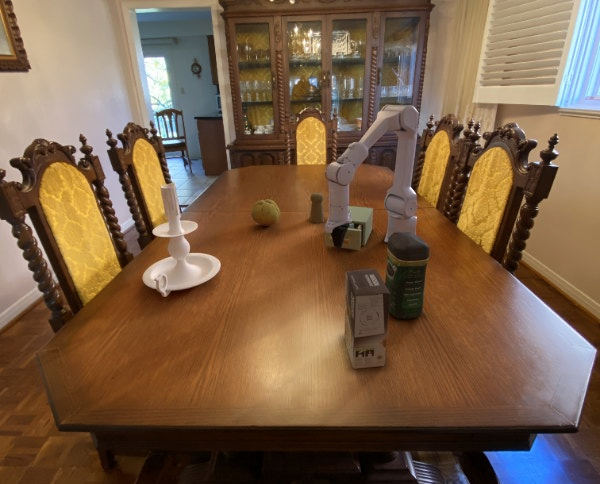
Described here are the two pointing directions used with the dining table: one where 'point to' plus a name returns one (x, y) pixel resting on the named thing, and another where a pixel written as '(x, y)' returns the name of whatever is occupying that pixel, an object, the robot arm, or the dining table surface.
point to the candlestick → (178, 252)
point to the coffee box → (366, 318)
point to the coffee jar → (406, 274)
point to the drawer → (348, 238)
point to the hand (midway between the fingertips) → (338, 246)
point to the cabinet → (362, 220)
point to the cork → (317, 208)
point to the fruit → (265, 212)
